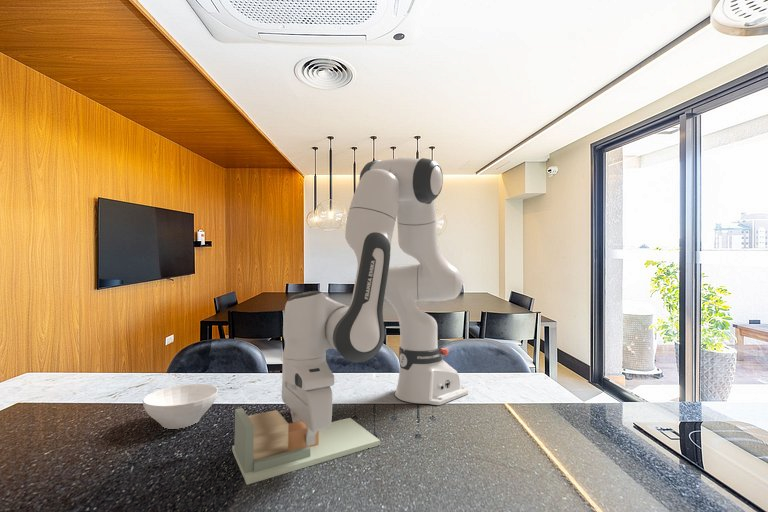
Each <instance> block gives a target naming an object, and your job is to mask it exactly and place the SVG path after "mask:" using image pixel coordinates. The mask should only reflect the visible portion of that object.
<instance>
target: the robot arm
mask: <svg viewBox="0 0 768 512" xmlns="http://www.w3.org/2000/svg"><path fill="white" fill-rule="evenodd" d="M443 181H444V176H443V171H442V168H441V166H440V164H438V162H437V161H436V160H433V159H430V158H424V157H423V158H412V157H411V158H410V157H398V158H391V159H390V158H389V159H382V160H380V159H377V160H372V161H369V162H367V163H366V164H365V165H364V167H363V168H362V169H361V171H360V173H359V181H358V184H357V186H356V189H355V191H354V194H353V196H352V199H351V201H350V205H349V209H348V213H347V216H346V223H345V234H344V235H345V236H344V237H345V240H346V242H347V244H348V245H349V247H350V248H351V249H352V250H353V252H354V254H355V256H356V259H357V268H356V269H357V270H356V274H355V281H354V285H353V291H352V298H351V301H350V304H349V305H347V304H344V303H341V302H339V301H337V300H334V299H332V298H331V297H329V296H327V295H326V294H325V293H323V291H319V290H312V291H311V290H310V291H305V292H299V293H296V294H293V295H292V296H291V297H289V298H288V299H287V301H286V303H285V306H284V311H283V320H282V321H283V322H282V324H283V325H282V338H283V339H284V349H283V352H282V367H281V368H282V373H281V374H282V375H281V376H282V377H281V378H282V380H281V381H282V382H281V400H282V402H283V403H284V404H285V405H286V407H288V409H289V408H290V409H291V414H290V416H291V421H292V423H294V422H298V421H303V423H304V424H305V425H306V429H307V431H306V434H304V442H305V443H306V444H307V445H308V446H310V445H313V444H315V435H316V433H317V431H321V430H325V429H328V428H329V426H330V424H331V422H332V419H333V417H332V416H333V398H334V397H333V390H332V387H333V386H335V375H334V373H333V372H332V370H331V369H330V367H329V365H328V361H327V360H326V359H327V358H326V357H327V355H326V353H327V352H326V351H328V350H329V349H334V350H336V351H337V353H339V355H340V356H341V357H342V358H344V359H345V360H346V361H348V362H352V363H364V362H366V361H369V360H371V359H372V358H373V357H375V356H376V355H377V354H378V353H379V352H380V350H381V349H382V347H383V345H384V342H385V336H386V333H385V332H386V329H385V323H384V315H383V313H384V311H383V310H384V301H385V300H386V301H387V302H388V303H389V305H391V306H392V308H393V309H394V312H395V313H396V315H397V319H398V324H399V332H400V335H399V336H400V338H399V339H400V346H399V348H398V349H399V350H398V362H399V371H398V372H399V373H398V379H397V385H396V390H395V392H394V396H395V397H396V398H397V399H398V400H400V401H404V402H406V403H413V404H423V405H425V404H426V405H427V404H428V405H435V406H441V405H444V404H446V403H449V402H450V401H451V402H452V401H453V400H456V399H459V398H462V397H463V396H465V395H468V394H469V390H468V389H467V387H465V386H463V385H461V381H460V375H459V373H458V371H457V370H456V369H454V368H453V367H452V366H451V365H450V364H448V362H446V361H445V360H444V359H443V355H444V356H445V357H447V356H448V355H449V353H450V352H449V349H447V348H444V347H442V348H440V347H438V344H439V343H438V323H437V320H436V319H435V318H434V317H433V316H432V315H430V314H428V313H427V312H424V311H423V310H421V309H419V307H418V305H417V304H418V303H417V302H445V301H450V300H455V299H457V297H458V296H459V295H460V294H461V292H462V289H463V284H464V283H463V282H464V281H463V275H462V274H461V272H460V271H459V269H458V268H457V267H456V266H454V265H452V264H451V263H450V262H449V261H448V260H447V259H446V258H445V257H444V255H443V254H442V251H441V250H440V246H439V243H438V242H439V241H438V233H437V213H436V212H437V210H436V201H435V200H436V199H437V198H438V196H439V195H440V194H441V192H442V189H443V184H444V182H443ZM396 221H397V237H398V239H397V240H398V241H397V242H398V246H399V248H400V249H401V251H402V252H403V253H405V255H407V256H410V257H411V258H414V259H415V260H417V262H418V263H419V264H394V265H390V261H391V245H392V239H393V234H394V230H395V225H396Z"/></svg>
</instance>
